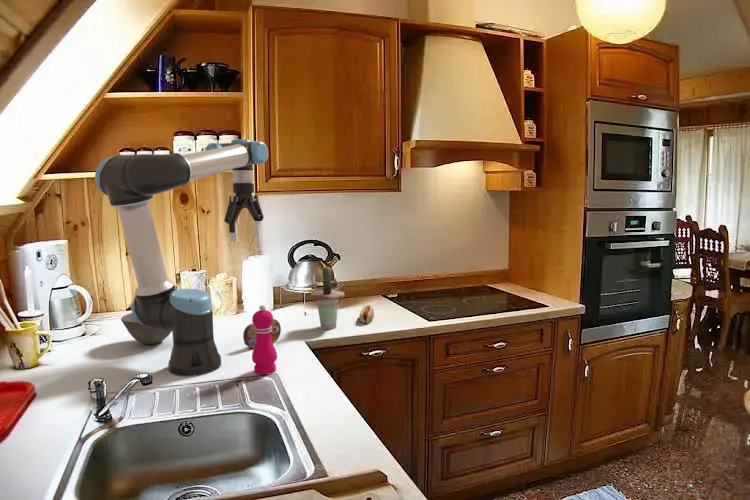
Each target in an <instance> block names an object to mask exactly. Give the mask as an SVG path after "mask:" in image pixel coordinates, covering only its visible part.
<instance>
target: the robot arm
mask: <svg viewBox="0 0 750 500" xmlns="http://www.w3.org/2000/svg"><path fill="white" fill-rule="evenodd" d="M268 158H269V149H268V146H267V145H266V143H264V142H263V141H256V140H254V141H251V140H250V139H244V138H243V139H240V138H239V139H232V140H231V141H230V142H227V143H219V142H210V143H208V144H207V145H206V147H205V149H204V150H202V151H198V152H197V151H196V152H193V153H186V154H181V153H177V152H174V153H167V154H164V153H163V154H160V153H159V154H151V153H140V154H117V155H112V156H108V157H105V158H104V159H103V160H102V161H100V162H99V164H98V166H97V167H96V170H95V175H94V181H95V184H96V187H97V188H98V190H99V191H100V192H102V193H103V194H104V195H105V196H107V198H108V200H109V204H110V206H111V207H112V208H114V209H115V210H117V212H118V215H119V219H120V222H121V227H122V229H123V233H124V237H125V241H126V245H127V248H128V252H129V256H130V260H131V263H132V266H133V271H134V275H135V277H136V278H135V279H136V281H137V288H135V290H134V295H135V296H134V297H133V300H132V301H133V302H132V303H131V313H132V314H133V316H134V318H135V320H136V321H137V322H138V323H139V324H141V325H143V326H146V327H149V328H152V329H162V330H168V331H172V332H171V333H172V342H173V345H172V348H171V353H170V359H169V360H168V372H169V373H170V374H172V375H175V376H180V377H181V376H183V377H185V376H188V377H190V376H198V375H204V374H207V373H210V372H214V371H216V370H217V369H219V368H220V367H221V366H222V357H221V354H220V353H219V351H218V348H217V345H216V342H215V339H214V336H215V335H214V314H213V303H212V298H211V295H210V293H208V292H207V291H205V290H203V289H197V288H179V289H176V285H175V282H174V281H173V280H171V279H170V278H168V274H167V270H166V266H165V263H164V259H163V255H162V251H161V247H160V242H159V239H158V235H157V231H156V230H157V229H156V227H155V223H154V219H153V214H152V210H151V206H150V204H151V202H152V201H153V199H154V195H158V194H162V193H165V192H168V191H171V190H174V189H178V188H180V187H184V186H186V185H188V184H189V183H190V181H193V180H197V179H201V178H205V177H209V176H211V175H216V174H219V173H224V172H228V171H231V170H232V182H234V183H233V184H232V191H233V192H232V193H233V194H234V195H229V201H228V206H227V209H226V213H225V216H224V223H226V224H228V231H229V238H230V239H229V240H230V242H233V243H238V242H239V241H238V239H239V237H238V223H236V222H237V219H238V218H239V215H240V214H241V211H242V210H243V209H247V210H248V212H249V214H250V216H251V217H252V219H253V220H252V237H253V239H261V222H262V221H263V220H264V218H265V217H264V214H263V210H262V208H261V206H260V202H259V196H258V194H257V195H256V194H255V195H254V193H255V184H254V181H255V177H254V176H255V175H254V165H258V166H259V165H261V164H265V163H266V162H267V161H268Z"/></svg>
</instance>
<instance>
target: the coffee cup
mask: <svg viewBox="0 0 750 500" xmlns="http://www.w3.org/2000/svg"><path fill="white" fill-rule="evenodd" d="M339 302H340V299H336V300H316V303H317V309H318V310H317V311H318V316H319V323H320V328H321V329H323V330H334V329H335V328H337V324H338V323H337V322H338V321H337V320H338V312H339V311H338V310H339Z"/></svg>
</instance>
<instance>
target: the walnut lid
mask: <svg viewBox="0 0 750 500" xmlns="http://www.w3.org/2000/svg"><path fill="white" fill-rule="evenodd" d="M331 269H332V268H331V267H330V266H325V267H322V290H317V291H313V292H311V293H310V294H309V298H310V299H312V300H315V301H317V300H336V299H339V300H340V299H343V298H344V297H345V292H344V291H341V290H333V289H332V276H331V272H332V271H331Z"/></svg>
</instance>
